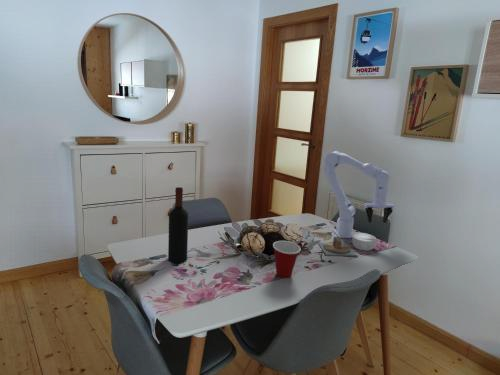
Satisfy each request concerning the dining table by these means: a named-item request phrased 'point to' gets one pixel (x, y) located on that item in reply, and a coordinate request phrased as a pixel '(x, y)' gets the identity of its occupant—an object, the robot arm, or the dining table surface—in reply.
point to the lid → (336, 246)
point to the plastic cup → (285, 257)
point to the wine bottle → (178, 230)
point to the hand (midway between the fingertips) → (376, 222)
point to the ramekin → (363, 241)
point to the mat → (336, 253)
